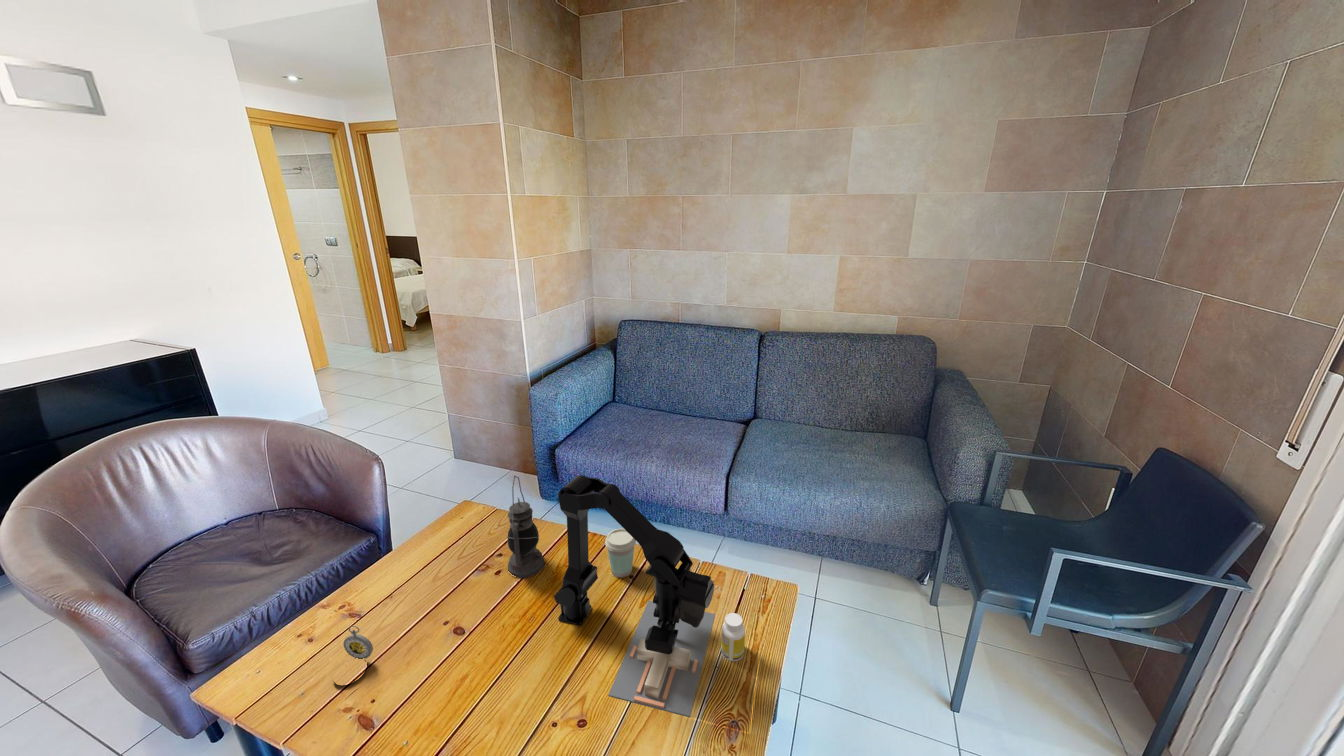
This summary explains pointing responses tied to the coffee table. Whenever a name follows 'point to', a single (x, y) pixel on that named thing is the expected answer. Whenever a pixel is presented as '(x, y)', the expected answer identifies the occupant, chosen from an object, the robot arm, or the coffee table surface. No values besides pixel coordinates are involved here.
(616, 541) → the coffee cup
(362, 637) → the pocket watch
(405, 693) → the coffee table surface
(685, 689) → the mat
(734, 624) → the supplement bottle
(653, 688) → the t block
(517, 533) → the lantern
